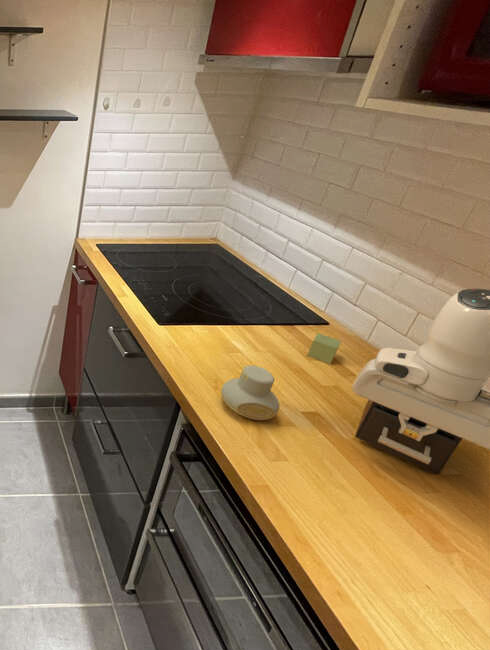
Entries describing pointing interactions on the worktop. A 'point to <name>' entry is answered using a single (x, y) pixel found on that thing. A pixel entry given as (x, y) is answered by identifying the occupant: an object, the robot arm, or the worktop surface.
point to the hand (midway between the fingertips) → (408, 435)
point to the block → (324, 348)
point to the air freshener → (252, 394)
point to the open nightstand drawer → (406, 441)
